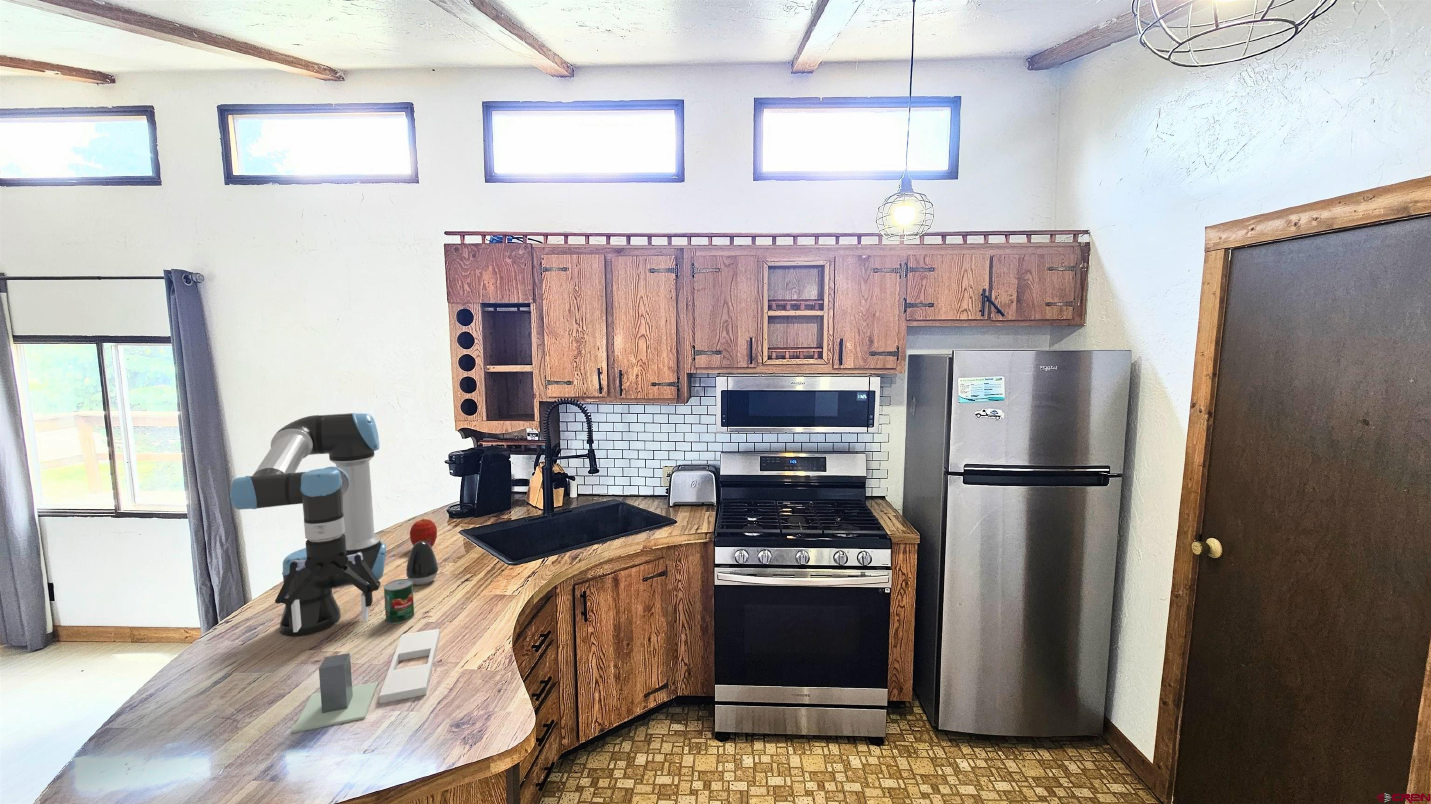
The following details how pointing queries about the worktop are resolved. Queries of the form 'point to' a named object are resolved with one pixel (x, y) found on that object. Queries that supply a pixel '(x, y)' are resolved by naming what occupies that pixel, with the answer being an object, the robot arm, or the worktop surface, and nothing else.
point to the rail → (414, 677)
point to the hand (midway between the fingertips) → (332, 624)
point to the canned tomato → (399, 601)
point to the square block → (335, 683)
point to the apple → (423, 531)
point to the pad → (355, 710)
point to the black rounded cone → (422, 563)
